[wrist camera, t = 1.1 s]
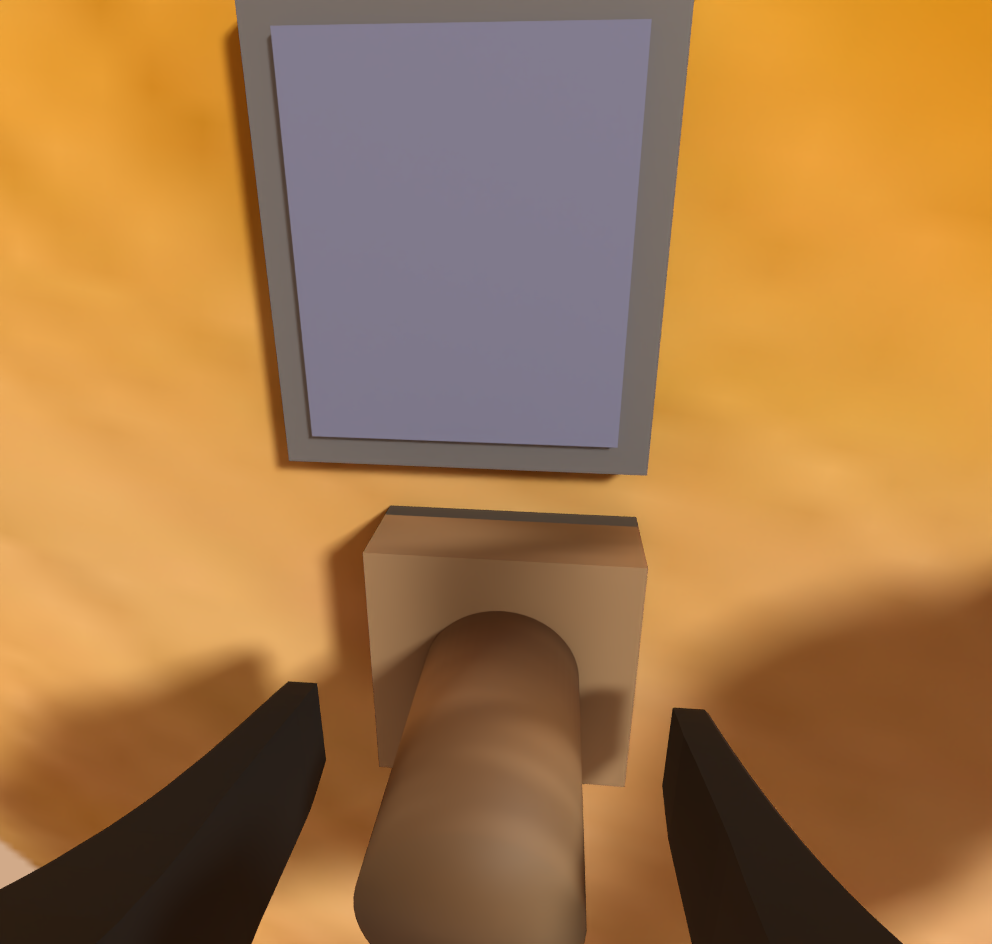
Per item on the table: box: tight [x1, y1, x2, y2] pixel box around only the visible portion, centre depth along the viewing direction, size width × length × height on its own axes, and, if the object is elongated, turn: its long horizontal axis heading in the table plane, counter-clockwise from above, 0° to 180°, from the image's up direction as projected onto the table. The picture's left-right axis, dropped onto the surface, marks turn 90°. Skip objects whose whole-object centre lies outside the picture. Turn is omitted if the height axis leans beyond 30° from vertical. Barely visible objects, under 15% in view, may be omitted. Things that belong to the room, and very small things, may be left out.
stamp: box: [354, 506, 648, 944], centre depth 13 cm, size 6×6×8 cm
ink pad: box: [235, 0, 694, 475], centre depth 13 cm, size 8×9×1 cm
